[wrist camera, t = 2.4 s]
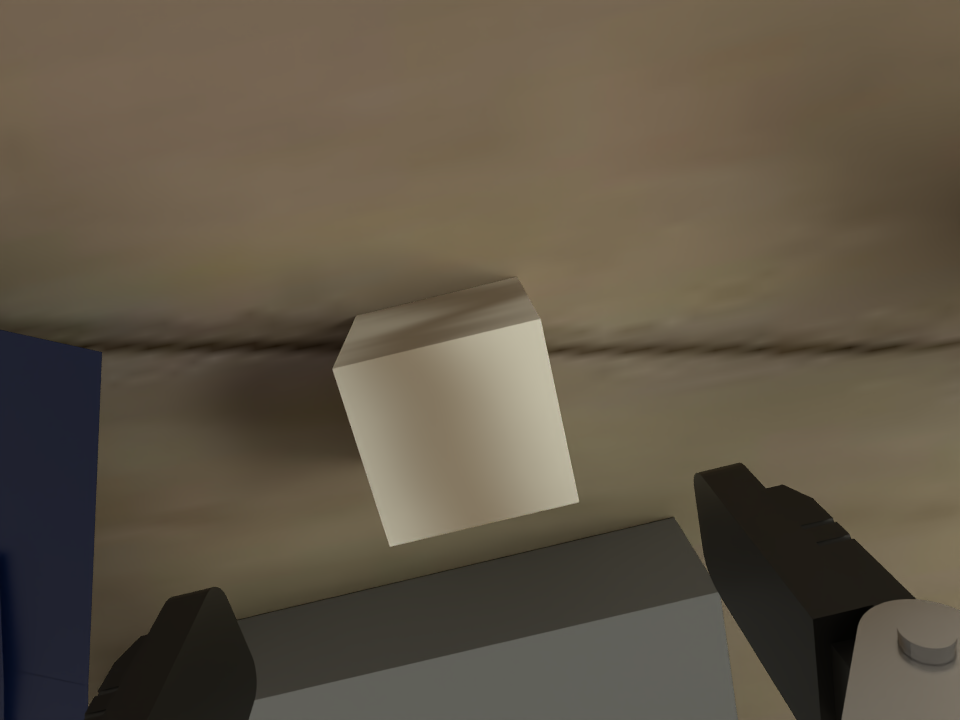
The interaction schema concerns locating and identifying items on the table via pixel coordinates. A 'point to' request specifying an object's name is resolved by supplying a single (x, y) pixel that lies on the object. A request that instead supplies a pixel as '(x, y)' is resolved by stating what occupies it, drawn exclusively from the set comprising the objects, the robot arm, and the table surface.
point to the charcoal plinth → (510, 640)
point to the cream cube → (455, 411)
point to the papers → (46, 525)
